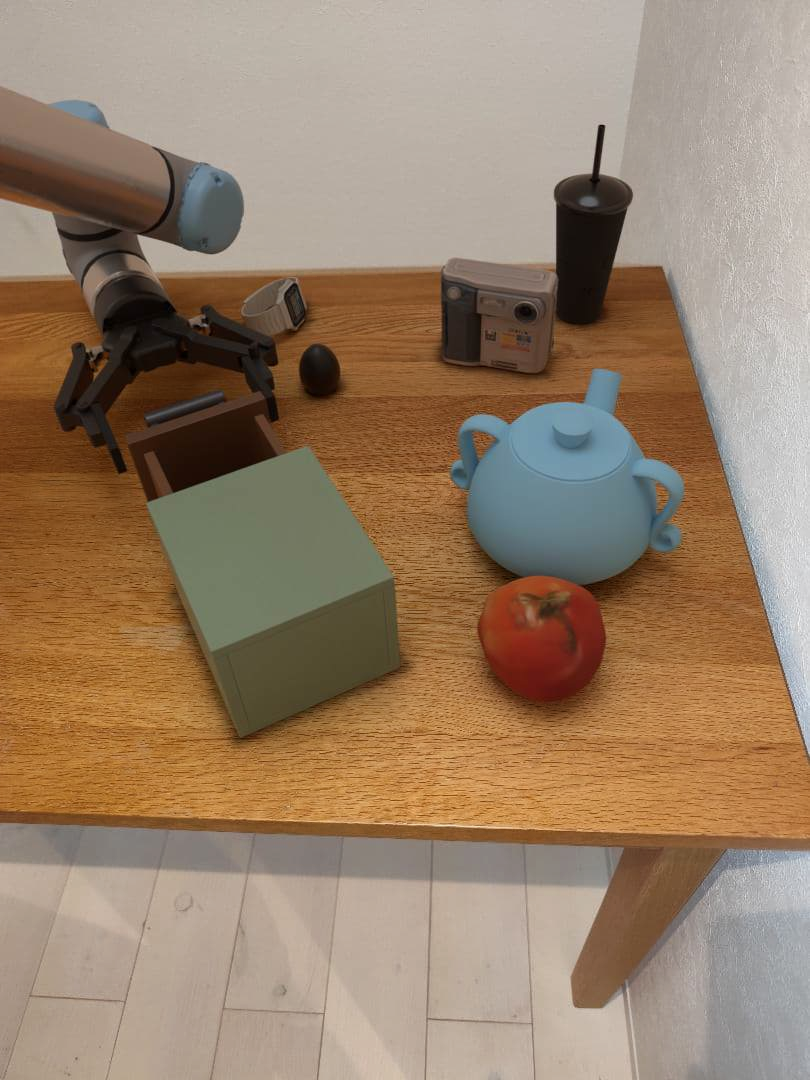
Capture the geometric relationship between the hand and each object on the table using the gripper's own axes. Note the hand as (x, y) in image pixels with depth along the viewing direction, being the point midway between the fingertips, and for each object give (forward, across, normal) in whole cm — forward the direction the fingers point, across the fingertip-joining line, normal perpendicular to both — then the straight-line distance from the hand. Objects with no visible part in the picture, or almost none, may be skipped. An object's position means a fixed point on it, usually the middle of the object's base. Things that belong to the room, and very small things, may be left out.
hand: (198, 434), depth 75 cm
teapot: (+18, -26, -7) cm, 32 cm away
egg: (-9, -14, -7) cm, 18 cm away
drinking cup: (-8, -44, -7) cm, 45 cm away
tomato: (+29, -16, -7) cm, 34 cm away
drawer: (+5, 0, -6) cm, 8 cm away
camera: (-5, -32, -7) cm, 33 cm away
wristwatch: (-22, -14, -7) cm, 27 cm away
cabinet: (+17, 0, -7) cm, 19 cm away
